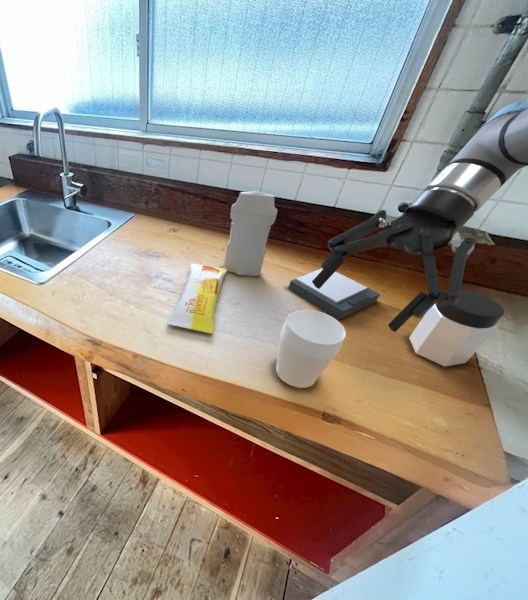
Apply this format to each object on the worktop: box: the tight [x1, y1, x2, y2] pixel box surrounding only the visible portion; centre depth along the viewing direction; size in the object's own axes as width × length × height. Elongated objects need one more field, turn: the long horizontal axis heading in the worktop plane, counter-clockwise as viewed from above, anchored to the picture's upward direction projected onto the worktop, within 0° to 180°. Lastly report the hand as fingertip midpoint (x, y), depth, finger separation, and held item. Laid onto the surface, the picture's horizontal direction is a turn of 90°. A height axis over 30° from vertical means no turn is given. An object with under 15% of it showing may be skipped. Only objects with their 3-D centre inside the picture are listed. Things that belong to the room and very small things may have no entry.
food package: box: [166, 263, 228, 334], centre depth 79 cm, size 27×2×10 cm
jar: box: [408, 289, 505, 367], centre depth 59 cm, size 9×8×12 cm
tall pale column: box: [222, 191, 279, 277], centre depth 82 cm, size 11×4×22 cm, turn 66°
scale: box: [288, 268, 381, 320], centre depth 78 cm, size 14×13×3 cm
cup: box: [275, 308, 347, 389], centre depth 56 cm, size 9×9×12 cm
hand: (349, 305), depth 55 cm, fingers open, 13 cm apart
